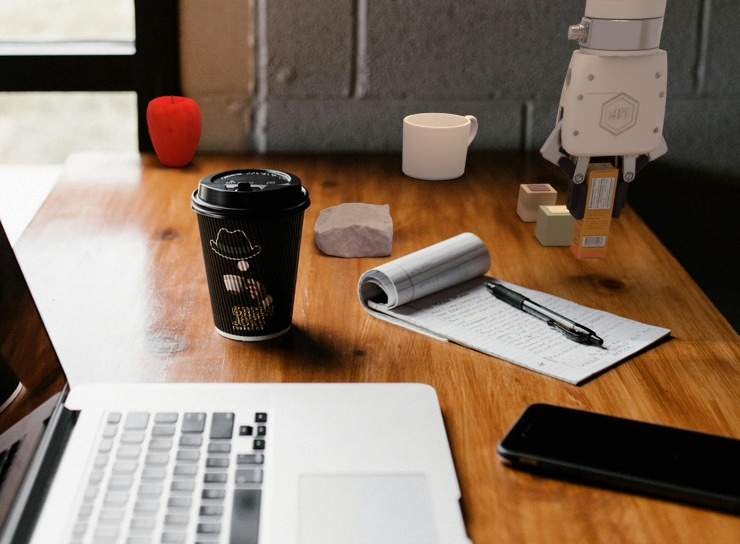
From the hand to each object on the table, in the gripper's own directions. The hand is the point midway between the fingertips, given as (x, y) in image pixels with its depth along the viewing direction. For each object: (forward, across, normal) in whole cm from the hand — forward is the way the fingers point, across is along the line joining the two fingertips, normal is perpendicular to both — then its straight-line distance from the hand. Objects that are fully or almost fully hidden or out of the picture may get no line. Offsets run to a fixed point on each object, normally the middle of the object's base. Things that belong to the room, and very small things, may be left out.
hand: (593, 214), depth 96 cm
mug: (+7, -9, +46) cm, 48 cm away
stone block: (+7, -26, +14) cm, 30 cm away
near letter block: (+7, 0, +13) cm, 15 cm away
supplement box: (+5, 0, 0) cm, 5 cm away
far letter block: (+7, 0, +22) cm, 24 cm away
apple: (+6, -52, +52) cm, 74 cm away
